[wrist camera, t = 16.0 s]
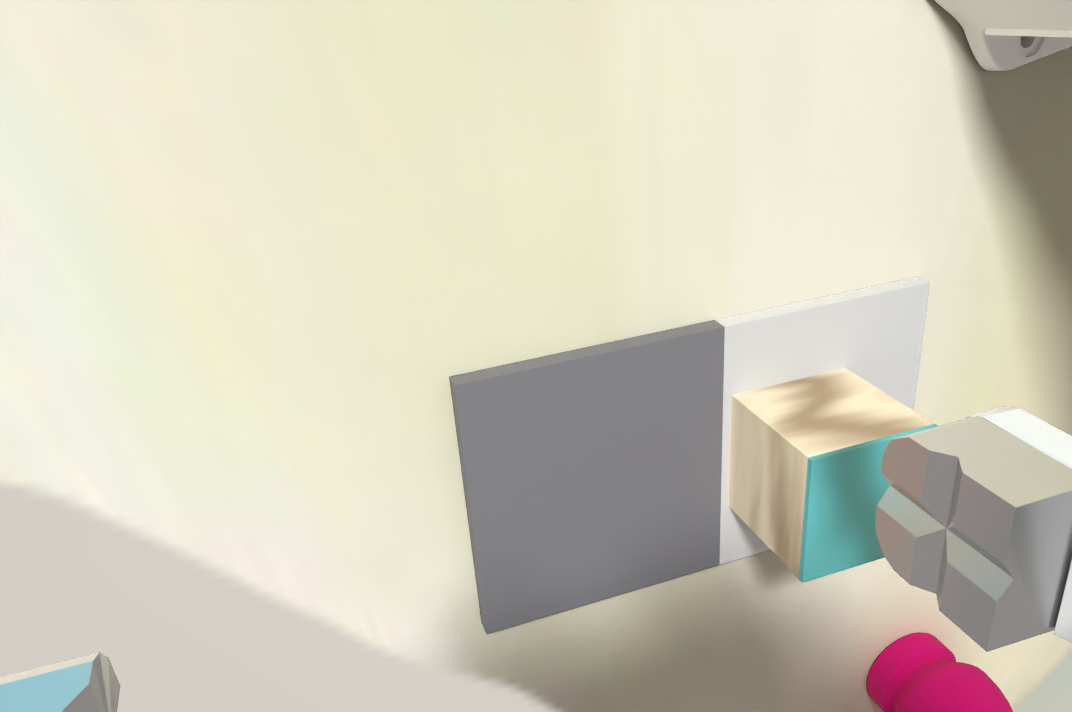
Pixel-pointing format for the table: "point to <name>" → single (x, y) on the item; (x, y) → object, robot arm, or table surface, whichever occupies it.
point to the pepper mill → (930, 680)
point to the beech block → (815, 467)
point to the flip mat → (645, 445)
